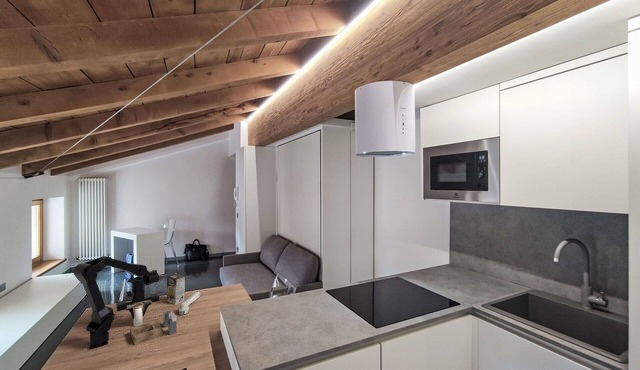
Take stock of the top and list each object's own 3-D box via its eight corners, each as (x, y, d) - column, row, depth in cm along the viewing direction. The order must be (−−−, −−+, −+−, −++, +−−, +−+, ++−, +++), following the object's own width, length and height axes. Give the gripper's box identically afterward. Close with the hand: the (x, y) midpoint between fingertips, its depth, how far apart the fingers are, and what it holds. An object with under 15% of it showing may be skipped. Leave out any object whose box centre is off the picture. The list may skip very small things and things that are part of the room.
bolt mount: (169, 334, 137) (169, 320, 137) (163, 325, 145) (163, 312, 145) (176, 332, 139) (176, 318, 139) (169, 323, 147) (169, 310, 147)
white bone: (201, 291, 182) (187, 302, 157) (201, 301, 181) (186, 314, 156) (193, 291, 182) (177, 302, 157) (192, 301, 181) (176, 315, 156)
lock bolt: (172, 321, 135) (172, 317, 135) (168, 317, 140) (168, 313, 140) (176, 320, 137) (176, 316, 137) (173, 316, 141) (173, 312, 141)
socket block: (134, 344, 128) (134, 338, 128) (130, 334, 137) (130, 328, 137) (162, 335, 136) (162, 329, 136) (156, 326, 145) (156, 320, 145)
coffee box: (166, 301, 174) (166, 276, 173) (175, 297, 179) (175, 273, 179) (175, 305, 169) (175, 278, 169) (184, 301, 175) (185, 275, 175)
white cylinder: (134, 327, 143) (134, 308, 143) (132, 324, 146) (132, 305, 146) (143, 324, 146) (143, 305, 146) (141, 321, 149) (141, 303, 149)
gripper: (154, 280, 158) (154, 307, 158) (114, 288, 145) (114, 317, 146) (159, 285, 150) (159, 314, 150) (117, 295, 137) (117, 326, 137)
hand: (138, 317), depth 146 cm, fingers closed on white cylinder, 4 cm apart
